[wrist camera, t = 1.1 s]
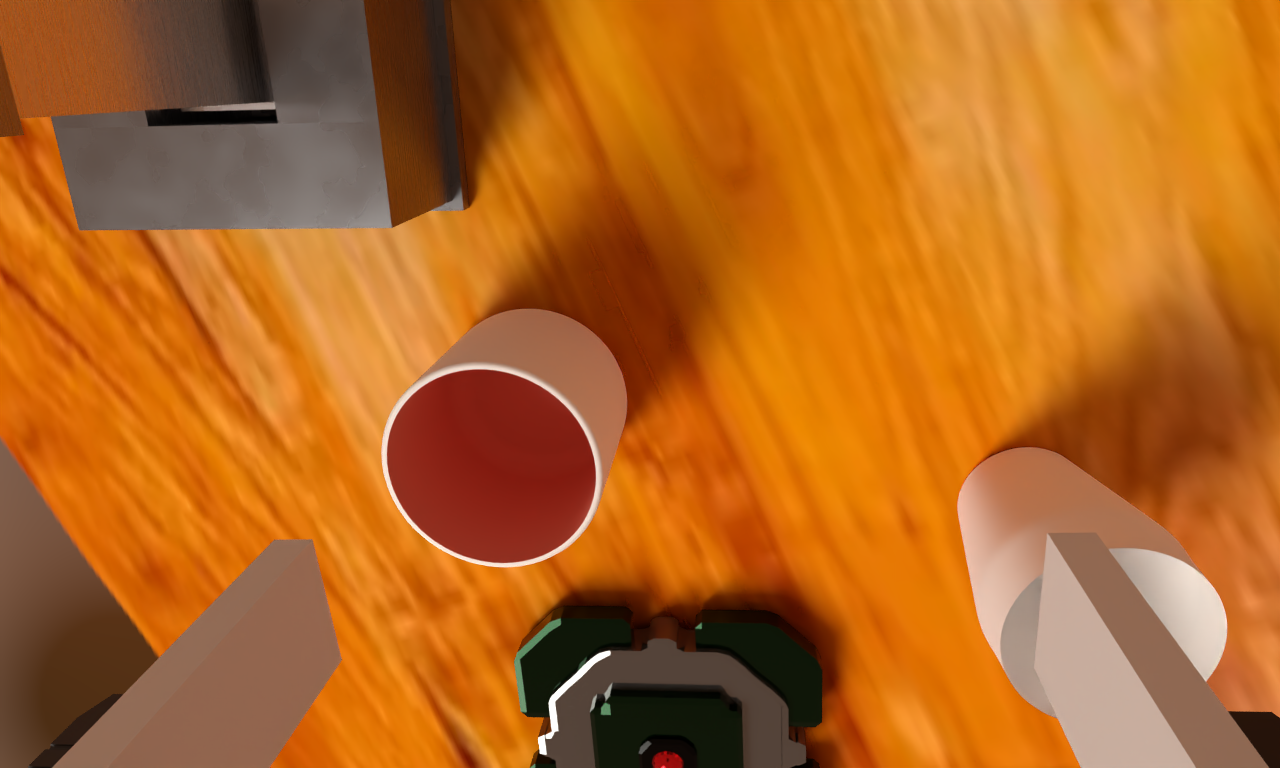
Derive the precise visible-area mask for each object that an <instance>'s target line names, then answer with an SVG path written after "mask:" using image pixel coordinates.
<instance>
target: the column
mask: <svg viewBox="0 0 1280 768" xmlns="http://www.w3.org/2000/svg"><path fill="white" fill-rule="evenodd" d="M173 108H181V110H182V112H185V111H226V110H267V109H276V108H275V102H274V96H273V90H272V84H271V77H270V71H269V65H268V59H267V53H266V47H265V41H264V35H263V29H262V23H261V16H260V10H259V4H258V0H0V137H7V136H18V135H24V133H23V130H22V126H21V122H20V118H36V117H51V116H66V115H81V114H97V113H112V112H127V111H142V110H158V109H173Z"/></svg>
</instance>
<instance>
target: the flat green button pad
mask: <svg viewBox="0 0 1280 768" xmlns="http://www.w3.org/2000/svg"><path fill="white" fill-rule="evenodd" d="M514 664H515V671H516V679H517V686H518V694H519V701H520V708H521V712H522V713H523V714H525V715H526V716H527V717H544V720H543V723H542V726H541V730H540V733H539V736H538V741H539V750H538V751H536V752H535V753H534V755H533V759H532V762H531V765H530V768H820V767H819V763H818V762H816V761H815V760H814V759H811V758H806V741H805V731H804V727H816V726H817V725H819V724H820V723H821V722H822V664H821V657H820V655H819V652H818V650H817V648H816V647H815V646H814V645H813V644H812V643H811V642H809V641H808V640H807V639H806V638H805V637H803V636H802V635H801V634H800V633H799V632H798V631H796V630H795V629H794V628H793V627H792V626H790V625H789V624H788V623H787V622H786V621H785V620H783V619H782V618H781V617H780V616H779V615H777V614H774V613H772V612H769V611H763V610H702V611H700V612H699V613H698V614H697V615H696V622H695V630H686V629H684V628H682V627H680V626H679V620H677V619H675V618H673V617H656V618H654V619H652V620H651V623H650V627H648V628H646V629H634V623H633V612H632V611H631V610H629V609H628V608H627V607H624V606H563V607H560V608H557V609H555V610H553V611H552V612H551V613H550V614H549V615H548V616H547V617H546V618H545V619H544V620H543V621H542V622H541V623H540V624H538V625H537V626H536V627H535V628H534V629H533V630H532V631H531V632H530V633H529V634H528V635H527V636H526V637H525V638H524V639H523V640H522V642H521V645H520V647H519V650H518V652H517V655H516V658H515V661H514Z"/></svg>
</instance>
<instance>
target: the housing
mask: <svg viewBox="0 0 1280 768" xmlns="http://www.w3.org/2000/svg"><path fill="white" fill-rule="evenodd" d="M258 4H259V10H260V16H261V23H262V29H263V35H264V41H265V47H266V53H267V59H268V65H269V71H270V77H271V84H272V90H273V96H274V102H275V108H276V109H267V110H226V111H185V112H182V110H181V108H173V109H158V110H142V111H127V112H112V113H97V114H81V115H66V116H51V119H52V123H53V127H54V131H55V135H56V139H57V143H58V147H59V151H60V155H61V159H62V163H63V167H64V171H65V175H66V179H67V183H68V187H69V191H70V195H71V199H72V203H73V207H74V211H75V215H76V219H77V223H78V227H79V230H171V229H300V228H393V227H395V226H397V225H399V224H401V223H404V222H406V221H408V220H410V219H413V218H415V217H417V216H419V215H421V214H424V213H426V212H428V211H451V210H465V209H467V208H469V198H468V187H467V176H466V166H465V155H464V144H463V133H462V123H461V112H460V101H459V91H458V80H457V69H456V58H455V48H454V37H453V26H452V16H451V5H450V0H258Z"/></svg>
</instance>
